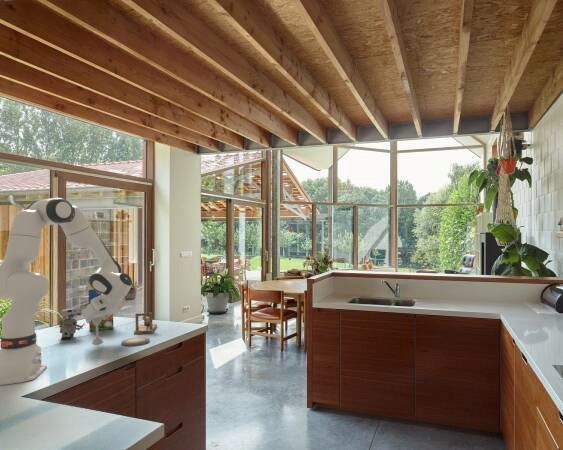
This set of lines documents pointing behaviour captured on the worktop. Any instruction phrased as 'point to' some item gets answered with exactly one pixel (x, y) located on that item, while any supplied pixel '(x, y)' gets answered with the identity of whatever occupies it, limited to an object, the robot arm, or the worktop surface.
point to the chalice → (97, 322)
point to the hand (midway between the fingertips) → (96, 320)
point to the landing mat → (135, 341)
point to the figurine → (69, 322)
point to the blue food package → (104, 323)
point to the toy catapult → (145, 324)
